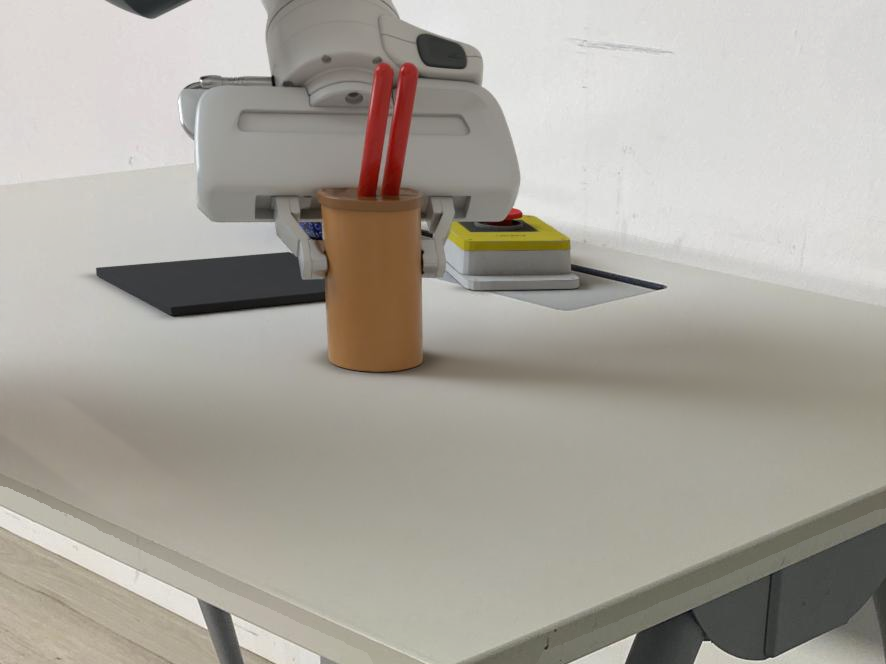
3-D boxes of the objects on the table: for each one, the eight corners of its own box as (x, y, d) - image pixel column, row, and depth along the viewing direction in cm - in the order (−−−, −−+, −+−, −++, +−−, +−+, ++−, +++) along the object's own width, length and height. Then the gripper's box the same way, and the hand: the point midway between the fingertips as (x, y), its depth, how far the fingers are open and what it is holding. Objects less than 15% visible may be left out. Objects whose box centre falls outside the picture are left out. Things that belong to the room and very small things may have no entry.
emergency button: (531, 196, 122) (585, 229, 110) (529, 250, 125) (582, 288, 113) (424, 196, 120) (468, 230, 108) (425, 251, 122) (468, 290, 110)
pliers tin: (361, 380, 87) (350, 63, 78) (307, 353, 92) (290, 51, 83) (450, 368, 91) (449, 63, 82) (393, 342, 95) (387, 51, 86)
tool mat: (171, 316, 98) (170, 307, 98) (96, 275, 108) (95, 267, 107) (375, 294, 107) (375, 286, 107) (289, 259, 116) (289, 251, 116)
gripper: (172, 38, 85) (202, 243, 82) (504, 49, 91) (542, 241, 88) (174, 111, 91) (202, 305, 88) (486, 117, 97) (521, 299, 94)
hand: (375, 273), depth 88 cm, fingers closed on pliers tin, 6 cm apart
